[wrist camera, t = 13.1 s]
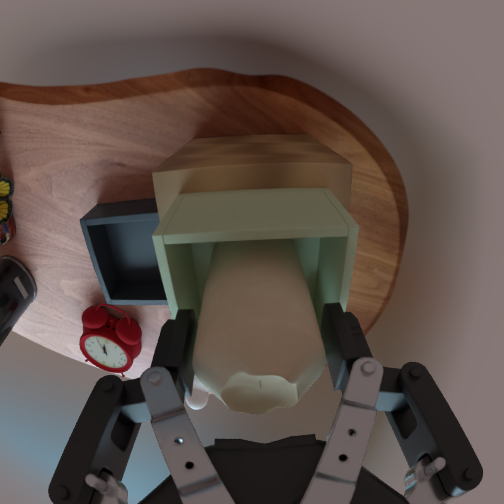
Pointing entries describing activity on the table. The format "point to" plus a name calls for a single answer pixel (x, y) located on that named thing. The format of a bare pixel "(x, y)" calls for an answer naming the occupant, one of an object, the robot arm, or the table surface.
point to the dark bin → (125, 251)
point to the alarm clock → (109, 339)
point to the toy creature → (198, 395)
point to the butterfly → (5, 199)
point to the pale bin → (256, 228)
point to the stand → (251, 167)
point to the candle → (257, 327)
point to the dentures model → (7, 231)
